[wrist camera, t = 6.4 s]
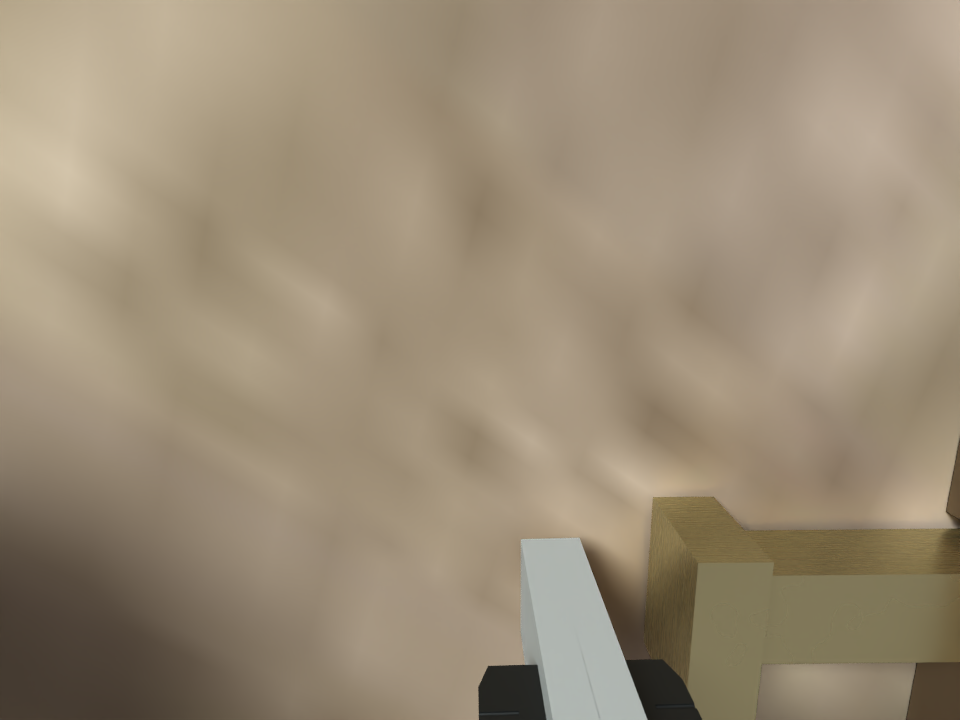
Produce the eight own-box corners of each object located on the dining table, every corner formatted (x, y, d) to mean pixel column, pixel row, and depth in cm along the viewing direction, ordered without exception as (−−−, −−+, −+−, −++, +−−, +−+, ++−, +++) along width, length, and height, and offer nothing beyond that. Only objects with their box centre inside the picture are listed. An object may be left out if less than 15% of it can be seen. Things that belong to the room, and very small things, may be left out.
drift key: (643, 640, 15) (683, 736, 12) (652, 497, 14) (698, 562, 11) (954, 637, 15) (1068, 731, 12) (984, 494, 14) (1115, 559, 11)
